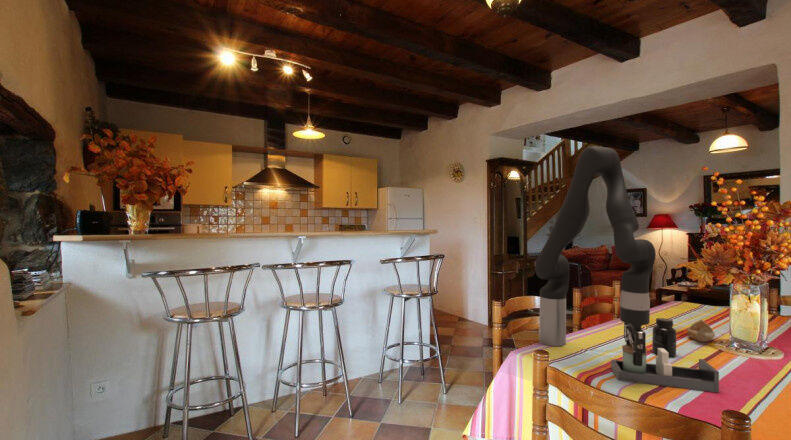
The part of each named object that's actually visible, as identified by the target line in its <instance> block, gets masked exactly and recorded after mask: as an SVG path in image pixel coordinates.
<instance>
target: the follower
mask: <svg viewBox="0 0 791 440" xmlns="http://www.w3.org/2000/svg"><path fill="white" fill-rule="evenodd" d="M669 358H670V357H669V353H668V352H667V351H666V350H665V349H664V348H658V355H656V356H655V364H656V373H657V374H658V375H665V376H672V366H673V364H671V362H670V361H669Z"/></svg>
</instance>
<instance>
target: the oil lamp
mask: <svg viewBox="0 0 791 440" xmlns="http://www.w3.org/2000/svg"><path fill="white" fill-rule="evenodd" d="M686 332H687V334H688V336H689V337H690V338H691V339H692V340H694V341H697V342H703V343H704V342H705V343H707V342H710V341H712V340H713V339H714V338H715V335H716V332H714V330H713V328H712V327H711V326H710V325H709V324H708V323H707V322H705V321H704V320H703V319H700V320H698V321H696V322H694V323H693V324H691V325H690V326H689V327H686Z"/></svg>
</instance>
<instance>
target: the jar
mask: <svg viewBox="0 0 791 440" xmlns="http://www.w3.org/2000/svg"><path fill="white" fill-rule="evenodd" d="M621 348H622V349H621V350H622V361H623V371H630V372H639V373H646V363H647V354H648V349H647V348H646V352H645V353H643V354H642V366H635V365H634V364H633V348H632V345H626V344H623V345H622V346H621ZM638 348H640V346H638Z"/></svg>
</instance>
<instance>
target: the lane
mask: <svg viewBox="0 0 791 440" xmlns="http://www.w3.org/2000/svg"><path fill="white" fill-rule="evenodd" d="M610 367H611V370H612V372H613V371H614V372H613V374H614V373H615V374H614V375H615V377H616V379H617V380H618V381H622V382H629V383H639V384H644V385H645V384H646V385H655V386H661V387H662V386H663V387H670V388H678V389H686V390H693V391H695V390H696V391H702V392H709V393H710V392H711V393H719V391H720V390H719V389H720V388H719V387H720V384H719V382H720V372H719V371H718V370H717V369H716V368H714V367H713V366H712V365H711V364H710V363H708V361H706V360H705V359H703V358H699V359H698V368H693V367H685V366H674V365H672V376H665V375H658V374H657V373H656V363H649V362H648V363H647V362H646V373H639V372H630V371H623V359H622V360H621V359H610Z"/></svg>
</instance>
